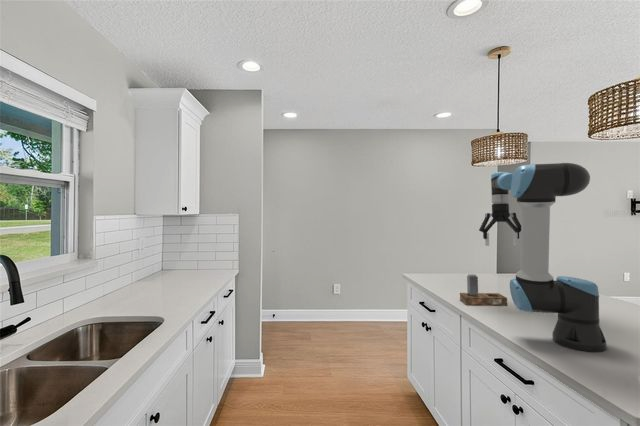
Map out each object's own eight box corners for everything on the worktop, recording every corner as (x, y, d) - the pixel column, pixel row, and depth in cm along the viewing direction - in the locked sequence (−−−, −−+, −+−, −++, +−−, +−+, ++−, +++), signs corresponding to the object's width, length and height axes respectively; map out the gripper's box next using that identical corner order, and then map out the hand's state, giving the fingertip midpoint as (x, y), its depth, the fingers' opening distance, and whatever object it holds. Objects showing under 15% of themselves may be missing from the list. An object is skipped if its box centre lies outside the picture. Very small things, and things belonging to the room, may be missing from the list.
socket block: (498, 300, 174) (498, 293, 174) (507, 305, 164) (507, 298, 164) (460, 300, 176) (459, 292, 176) (466, 305, 166) (466, 297, 166)
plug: (478, 303, 168) (477, 275, 168) (470, 303, 169) (469, 275, 169) (475, 301, 172) (474, 274, 172) (467, 301, 173) (467, 274, 173)
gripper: (522, 203, 165) (523, 244, 165) (471, 204, 167) (472, 245, 167) (530, 202, 158) (531, 246, 157) (477, 203, 160) (478, 246, 159)
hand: (501, 245), depth 162 cm, fingers open, 13 cm apart
